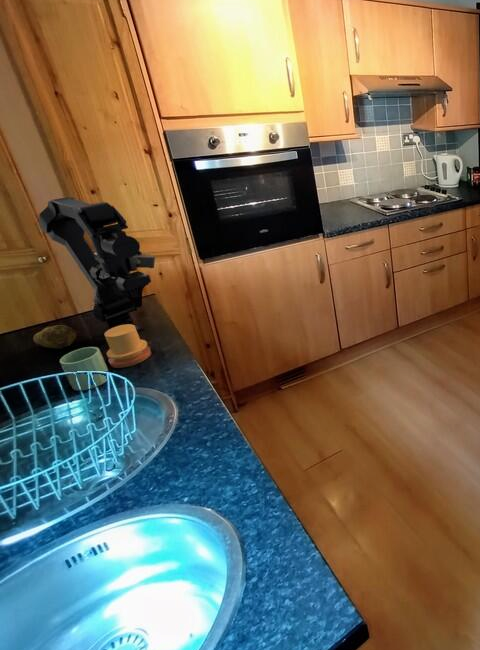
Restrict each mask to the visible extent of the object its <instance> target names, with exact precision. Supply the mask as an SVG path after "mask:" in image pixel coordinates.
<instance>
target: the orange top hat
mask: <svg viewBox="0 0 480 650" xmlns="http://www.w3.org/2000/svg"><path fill="white" fill-rule="evenodd" d="M135 326H136V325H135ZM135 326H134V325H132V324H125V325H120V326H116V327H114V328H111V329H109V328H108V329H107V330H106V331H105V332H104V334H103V335H104V338H105V340H106V342H107V345H108V347H109V348H108V350H107V351H106V356H107V358H108V359H109V358H111V359H119V360H126V359H130V358H133V357H136V356H137V355H139V354H140V353H141V351H143V350H144V349H145V348H146V347H147V346H148V342H147V340H145V339H141V338H140V335H139V333H138V331H137V330H136V328H135Z"/></svg>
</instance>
